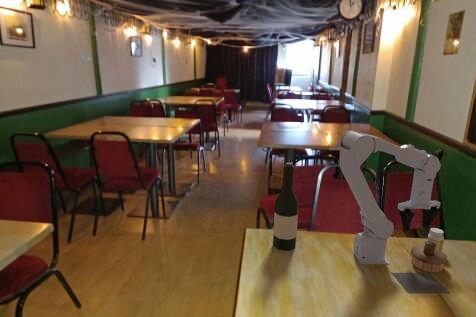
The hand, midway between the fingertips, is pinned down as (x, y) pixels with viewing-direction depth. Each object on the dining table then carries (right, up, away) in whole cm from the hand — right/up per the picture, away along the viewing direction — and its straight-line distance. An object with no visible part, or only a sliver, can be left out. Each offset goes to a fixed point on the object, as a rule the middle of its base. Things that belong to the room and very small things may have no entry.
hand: (415, 228), depth 113 cm
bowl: (+2, -11, -3) cm, 12 cm away
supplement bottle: (+9, -9, +5) cm, 14 cm away
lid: (+2, -8, -5) cm, 9 cm away
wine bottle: (-43, -8, +8) cm, 44 cm away
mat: (-6, -13, -13) cm, 20 cm away
